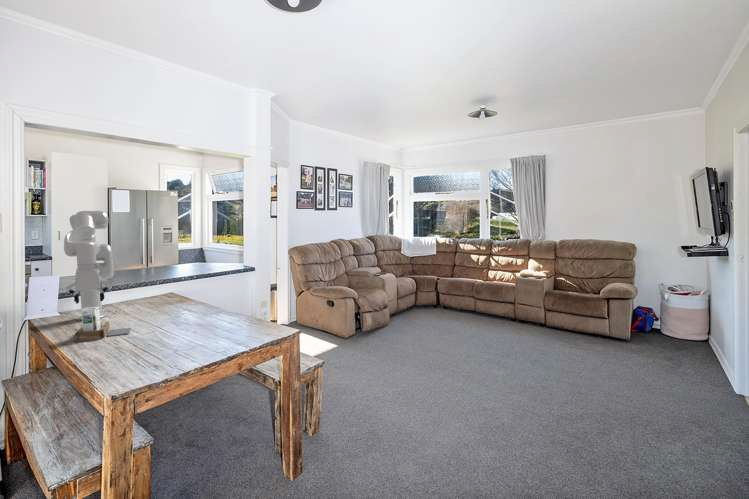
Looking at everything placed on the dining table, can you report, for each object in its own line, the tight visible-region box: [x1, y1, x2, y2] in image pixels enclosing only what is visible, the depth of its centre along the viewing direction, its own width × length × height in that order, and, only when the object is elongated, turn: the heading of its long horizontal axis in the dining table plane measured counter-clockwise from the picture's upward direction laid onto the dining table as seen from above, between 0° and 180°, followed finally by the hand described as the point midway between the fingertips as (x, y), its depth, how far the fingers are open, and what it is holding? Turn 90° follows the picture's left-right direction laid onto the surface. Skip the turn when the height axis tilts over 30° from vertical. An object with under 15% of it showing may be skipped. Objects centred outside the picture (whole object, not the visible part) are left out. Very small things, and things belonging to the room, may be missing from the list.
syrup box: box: [80, 307, 101, 332], centre depth 189 cm, size 6×6×14 cm
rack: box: [75, 321, 110, 343], centre depth 191 cm, size 16×11×4 cm
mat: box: [106, 327, 132, 337], centre depth 196 cm, size 10×9×1 cm
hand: (89, 302), depth 187 cm, fingers open, 9 cm apart
